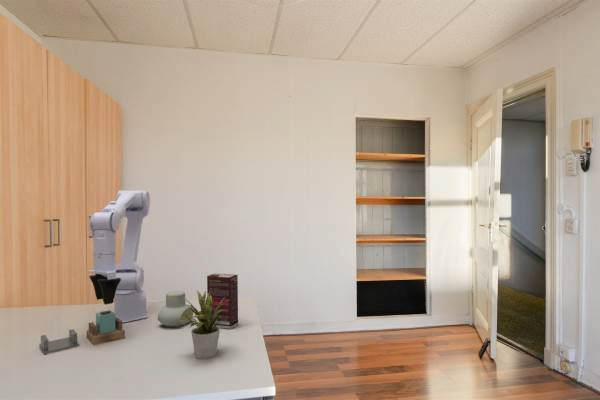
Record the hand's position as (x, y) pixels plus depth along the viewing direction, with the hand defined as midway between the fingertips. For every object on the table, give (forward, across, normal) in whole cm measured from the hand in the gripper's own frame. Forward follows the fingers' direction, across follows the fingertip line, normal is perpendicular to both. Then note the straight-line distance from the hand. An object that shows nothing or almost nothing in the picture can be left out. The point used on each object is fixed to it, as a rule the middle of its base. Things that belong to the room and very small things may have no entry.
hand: (104, 301), depth 107 cm
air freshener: (+11, +2, +20) cm, 23 cm away
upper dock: (+10, 0, 0) cm, 11 cm away
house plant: (+11, +29, +15) cm, 35 cm away
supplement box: (+11, +14, +30) cm, 35 cm away
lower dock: (+11, -2, -11) cm, 15 cm away
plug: (+8, 0, 0) cm, 9 cm away
